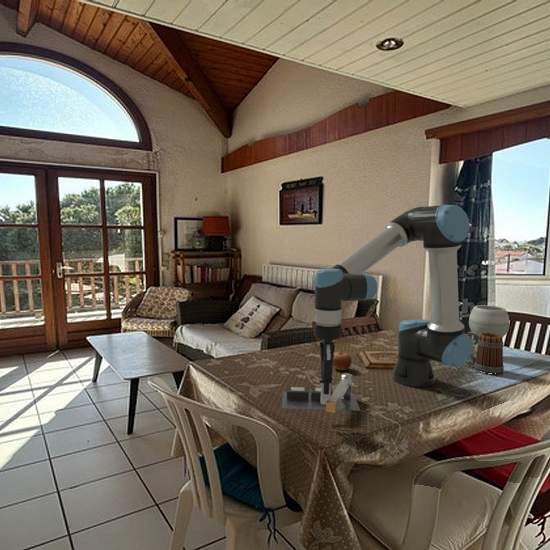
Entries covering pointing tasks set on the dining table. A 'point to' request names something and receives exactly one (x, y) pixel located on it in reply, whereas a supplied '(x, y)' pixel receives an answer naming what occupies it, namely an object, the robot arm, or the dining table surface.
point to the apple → (341, 360)
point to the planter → (489, 320)
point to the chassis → (345, 404)
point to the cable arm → (339, 392)
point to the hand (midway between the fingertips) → (325, 403)
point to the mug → (488, 353)
